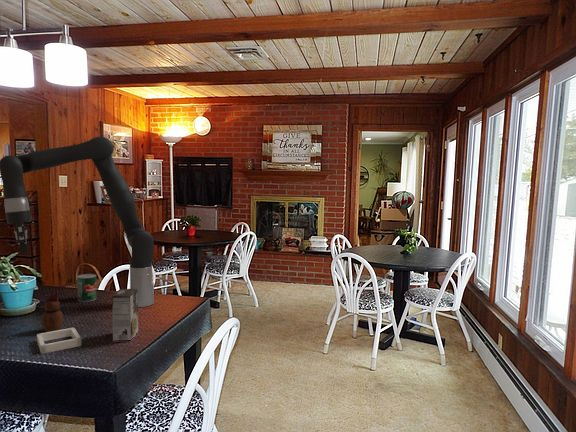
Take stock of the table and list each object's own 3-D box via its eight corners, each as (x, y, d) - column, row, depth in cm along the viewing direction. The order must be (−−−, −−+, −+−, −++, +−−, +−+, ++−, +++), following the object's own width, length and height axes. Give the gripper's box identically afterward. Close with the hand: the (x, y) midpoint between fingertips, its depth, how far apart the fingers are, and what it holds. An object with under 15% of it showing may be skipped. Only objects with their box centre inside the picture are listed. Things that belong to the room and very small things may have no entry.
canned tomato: (90, 302, 182) (90, 278, 181) (73, 301, 182) (73, 277, 181) (100, 297, 189) (99, 274, 188) (83, 296, 190) (83, 273, 189)
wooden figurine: (66, 329, 149) (65, 289, 147) (53, 334, 143) (51, 293, 142) (52, 326, 151) (51, 287, 150) (38, 332, 145) (37, 291, 144)
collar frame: (74, 334, 144) (74, 327, 144) (81, 345, 134) (81, 338, 134) (37, 341, 137) (36, 334, 137) (41, 354, 128) (41, 346, 127)
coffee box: (120, 331, 148) (120, 288, 146) (138, 331, 148) (138, 288, 147) (111, 341, 138) (111, 295, 137) (131, 341, 139) (130, 295, 138)
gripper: (29, 209, 146) (36, 253, 147) (29, 209, 158) (35, 250, 159) (4, 211, 142) (11, 257, 143) (6, 211, 154) (12, 253, 155)
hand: (24, 253), depth 151 cm, fingers open, 8 cm apart
